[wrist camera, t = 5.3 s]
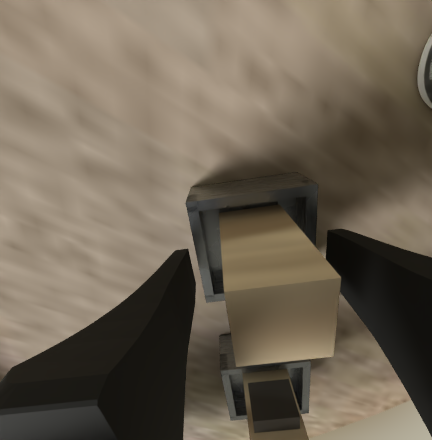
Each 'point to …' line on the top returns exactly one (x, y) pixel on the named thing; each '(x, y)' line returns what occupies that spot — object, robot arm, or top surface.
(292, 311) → the beige wooden block
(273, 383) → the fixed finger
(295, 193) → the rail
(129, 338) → the robot arm
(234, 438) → the top surface
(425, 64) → the supplement bottle
